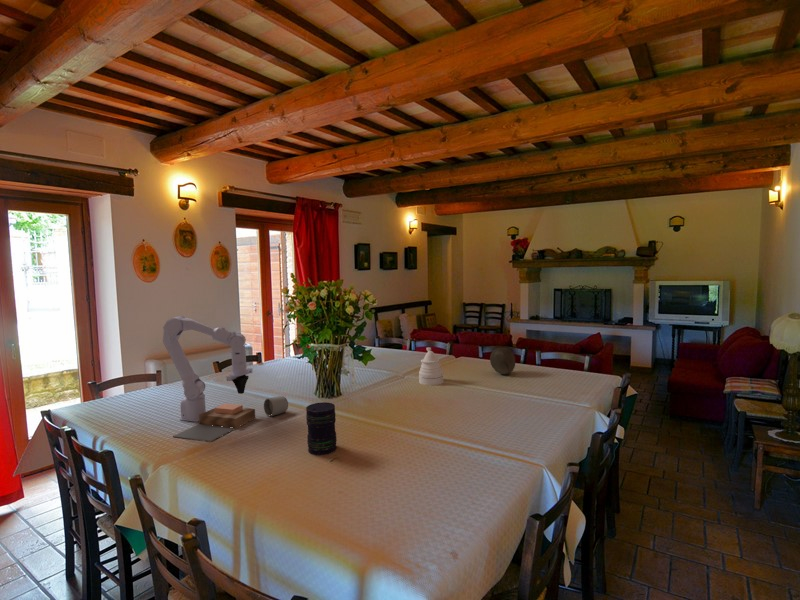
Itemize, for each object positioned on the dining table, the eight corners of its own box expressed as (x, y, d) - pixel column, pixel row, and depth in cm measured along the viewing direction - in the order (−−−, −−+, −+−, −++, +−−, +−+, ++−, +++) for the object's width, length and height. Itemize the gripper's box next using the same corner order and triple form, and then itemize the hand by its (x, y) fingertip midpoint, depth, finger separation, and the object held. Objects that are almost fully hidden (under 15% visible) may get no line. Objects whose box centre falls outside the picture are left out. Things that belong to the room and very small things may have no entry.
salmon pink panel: (214, 412, 180) (214, 407, 180) (225, 408, 185) (224, 403, 185) (233, 414, 177) (232, 409, 177) (242, 409, 183) (242, 404, 182)
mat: (172, 437, 165) (172, 436, 165) (198, 425, 177) (198, 424, 177) (211, 441, 159) (211, 440, 159) (235, 429, 172) (235, 428, 172)
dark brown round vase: (519, 372, 246) (518, 346, 245) (511, 378, 234) (510, 350, 233) (494, 370, 253) (494, 344, 252) (486, 375, 242) (485, 348, 240)
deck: (199, 424, 178) (198, 415, 177) (220, 414, 189) (219, 405, 189) (236, 428, 172) (235, 418, 172) (255, 418, 183) (254, 408, 183)
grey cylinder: (290, 412, 189) (288, 395, 188) (273, 418, 183) (272, 400, 182) (275, 408, 196) (274, 391, 195) (259, 413, 190) (258, 396, 189)
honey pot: (414, 380, 235) (414, 347, 234) (435, 377, 241) (434, 345, 239) (426, 386, 224) (425, 351, 222) (447, 383, 229) (447, 349, 228)
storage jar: (324, 441, 157) (322, 400, 156) (343, 447, 151) (341, 405, 149) (301, 450, 149) (299, 408, 148) (320, 458, 143) (318, 413, 142)
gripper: (235, 366, 179) (237, 398, 180) (257, 358, 193) (259, 389, 194) (221, 365, 181) (223, 397, 182) (244, 358, 195) (246, 388, 196)
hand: (241, 393), depth 188 cm, fingers closed
